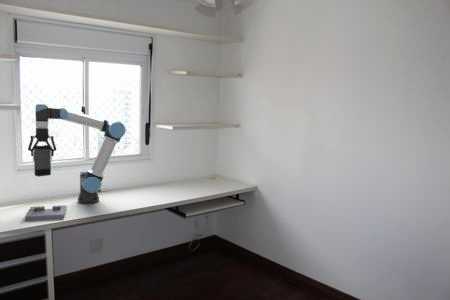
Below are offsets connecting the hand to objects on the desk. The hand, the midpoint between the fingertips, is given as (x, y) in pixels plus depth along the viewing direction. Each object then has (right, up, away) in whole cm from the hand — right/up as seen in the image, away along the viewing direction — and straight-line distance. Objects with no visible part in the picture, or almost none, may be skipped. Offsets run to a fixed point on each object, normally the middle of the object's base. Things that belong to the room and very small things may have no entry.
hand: (42, 161), depth 252 cm
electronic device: (-1, -10, +1) cm, 10 cm away
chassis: (+6, -35, -6) cm, 36 cm away
